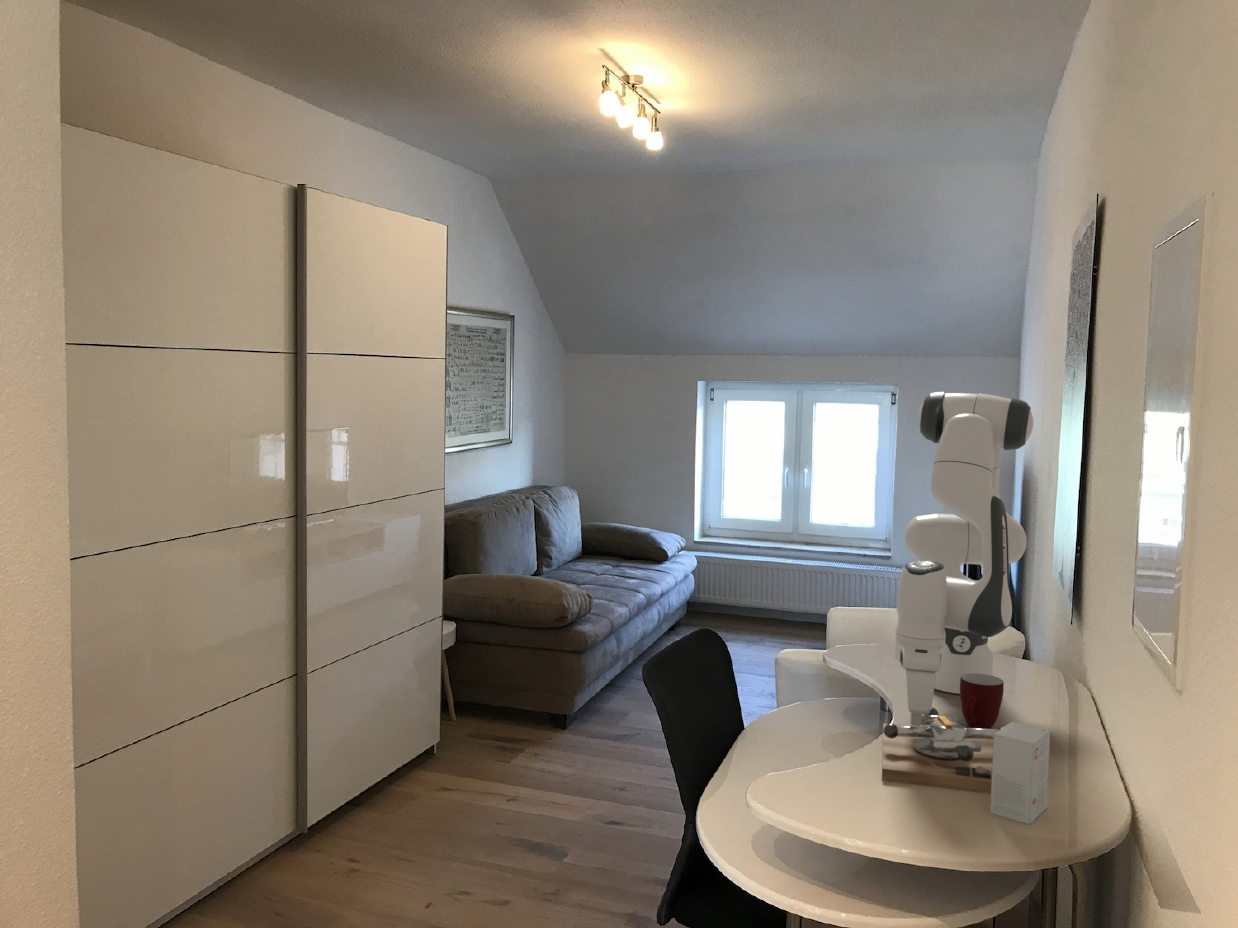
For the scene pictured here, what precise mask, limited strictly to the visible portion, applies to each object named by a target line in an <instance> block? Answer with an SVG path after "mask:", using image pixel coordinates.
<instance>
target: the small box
mask: <svg viewBox="0 0 1238 928" xmlns="http://www.w3.org/2000/svg"><path fill="white" fill-rule="evenodd" d="M1002 727H1003V728H1002V729H1000V730H999V731H997V732H996V733H994V740H993V762H992V784H991V793H990V806H989V807H990V808H989V812H990V814H993V815H996V816H999V817H1003V818H1006V819H1010V820H1013V821H1015V822H1019V823H1023V824H1027V825H1030V824H1032V823H1033V822H1034V821H1035V819H1037V818H1038V817H1040V815H1041V814H1042V813H1043V812H1044V811H1045V810H1047V800H1048V799H1047V798H1048V795H1047V794H1048V793H1047V792H1048V779H1049V778H1048V775H1049V760H1050V741H1051V731H1050V730H1049V729H1045V728H1041V727H1037V726H1033V725H1028V724H1024V723H1020V722H1019V723H1018V722H1015V721H1011V722H1009V723H1007V724H1006V725H1004V726H1002Z"/></svg>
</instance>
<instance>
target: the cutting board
mask: <svg viewBox="0 0 1238 928" xmlns="http://www.w3.org/2000/svg"><path fill="white" fill-rule="evenodd" d="M882 724H883V728H882V756H881V757H882V761H881V762H882V765H881V780H882V781H885V782H887V781H888V782H893V783H894V782H895V783H903V784H911V785H919V786H920V785H921V786H927V787H928V786H929V787H937V788H945V789H953V790H959V791H960V790H961V791H968V792H977V793H984V794H985V793H986V794H991V784H992V762H993V740H994V739H967V738H965V741H980V743H981V751H980V752H974V756H973V758H972V759H971V760H970V761H963V760H961V759H956V760H942V759H935V758H931V757H927V756H924V755H922V754H920V753H918V752H916V751H915V750H914V741H915V740H917V739H919V738H925V737H901V736H897V737H895V738H892V739H891V738H888V737H887V736H886V735H885V734H884V727H885V726H886V725H887V724H888V723H882ZM895 725H896V726H904V725H902V724H895Z"/></svg>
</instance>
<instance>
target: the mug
mask: <svg viewBox="0 0 1238 928" xmlns="http://www.w3.org/2000/svg"><path fill="white" fill-rule="evenodd" d="M1004 684H1005V683H1004V680H1003V679H1002V678H1000V677H998V676H995V675H994V676H991V675H986V674H975V673H971V674H964V675H962V676H961V678H960V694H959V695H960V703H961V710H962V715H963V718H964V721H965V722H966V724H967V728H980V729H993V727H994V725H995V723H997V720H998V718H999V713H1000V710H1001V706H1002V701H1003V696H1004V686H1005V685H1004Z"/></svg>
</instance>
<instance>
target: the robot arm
mask: <svg viewBox="0 0 1238 928" xmlns="http://www.w3.org/2000/svg"><path fill="white" fill-rule="evenodd" d="M1031 410H1032V409H1031V406H1030V405H1029V404H1028V403H1027V401H1024V400H1022V399H1019V398H1015V397H1011V398H1007V397H1003V396H999V395H994V394H986V393H980V392H979V393H968V392H967V393H966V392H965V393H964V392H949V393H948V392H946V391H936V392H931V393H929V394H928V395H927V396H926V397H924V400H923V402H922V403H921V405H920V408H919V411H918V414H917V415H918V416H917V420H918V421H917V422H918V426H919V431H920V434H921V435H922V436H923V437H924V438H925V439H926V440H929V441H931V442H932V443H934V444H937V447H936V450H935V455H934V459H933V464H932V471H931V478H930V490H931V493H932V496H933V498H934V499H935V501H936V502H937V503H938V505H940V506H941V507H942V508H943V509H944V510H946V511H948V513H930V514H929V513H928V514H921V515H916V516H914V517H913V518H912V519H911V520H910V521H909V523H908V524H907V527H906V529H905V533H904V543H905V546H906V548H907V550H908V552H909V553H910V555H911V556H912V557H913V558H914V559H916V560H913V561H910V562H908V563H906V564H904V566H903V567H902V569H901V573H900V577H899V584H898V589H897V596H896V598H897V599H896V612H897V613H896V614H897V617H898V618H897V619H898V620H897V624H896V628H895V631H894V632H895V635H894V652H893V657H894V658H895V659H896V660H898V662H899V663H900V667H901V668H902V669H903V671H904V675H905V676H904V684H905V685H904V687H905V693H906V699H907V700H906V701H907V708H908V712H909V713H910V716H909V717H910V718H909V719H910V720H909V722H910V726H914V727H921V726H922V725H921V716H922V715H924V714H926V715H927V714H929V713H930V710H931V707H933V706H932V705H933V699H934V694H935V690H938V691H942V692H946V693H951V694H958V695H960V678H961V676H962V675H964V674H971V673H975V674H986V675H991V676H995V652H994V651H992V649H991V648H990V647H989V646H988V642H989V639H990V638H993V637H995V636H997V635H998V634H1000V633H1002V632H1003V631H1005V630H1006V629H1007V628H1008V627H1009V626H1010V624H1011V621H1012V617H1013V616H1012V615H1013V614H1012V613H1013V606H1012V605H1013V603H1012V595H1011V587H1010V585H1011V584H1010V566H1009V565H1010V564H1015V563H1017V562H1018V561H1020V560H1021V558H1022V557H1023V555H1024V554H1025V552H1026V549H1027V546H1028V545H1027V543H1028V541H1027V534H1026V532H1025V530H1024V527H1023V526H1022V525H1021V523H1020V522H1019V521H1018V520H1017V519H1015V518H1013V517H1012V516H1011V515H1010V514H1009V513H1008V512H1007V511H1006V506H1005V504H1004V502H1003V500H1002V499H1001V498H1000V475H1001V474H1000V473H1001V466H1002V465H1001V464H1002V455H1003V453H1002V451H1003V450H1004V451H1010V450H1018V449H1021V448H1022V447H1024V446H1025V445H1026V443H1027V441H1028V440H1029V439H1030V436H1031V435H1032V432H1033V429H1034V416H1033V413H1032V411H1031ZM967 564H968V565H979V566H980V565H982V575H981V576H982V577H981V578H980V579H979V580H975V579H972V578H970V577H968V576H966V575H965V574H963V573H962V571H961V567H962V566H961V565H967Z"/></svg>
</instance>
